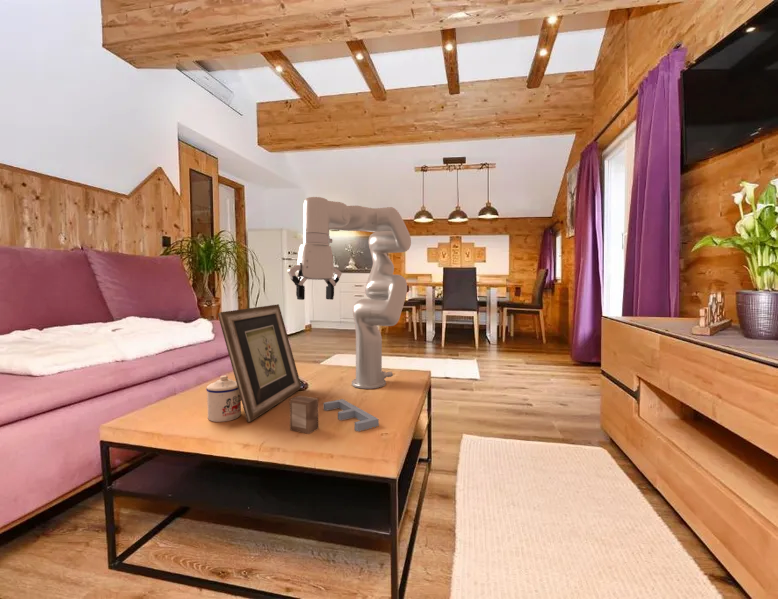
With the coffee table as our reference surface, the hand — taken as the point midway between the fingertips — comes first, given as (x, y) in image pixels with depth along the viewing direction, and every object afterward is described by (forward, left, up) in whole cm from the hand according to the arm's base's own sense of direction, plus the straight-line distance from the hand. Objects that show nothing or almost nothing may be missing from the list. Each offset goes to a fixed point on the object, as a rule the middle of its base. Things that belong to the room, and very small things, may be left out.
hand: (315, 299), depth 114 cm
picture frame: (+11, -15, -33) cm, 38 cm away
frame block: (+9, +12, -33) cm, 36 cm away
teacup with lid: (+23, -10, -33) cm, 41 cm away
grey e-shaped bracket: (-5, +11, -33) cm, 35 cm away
